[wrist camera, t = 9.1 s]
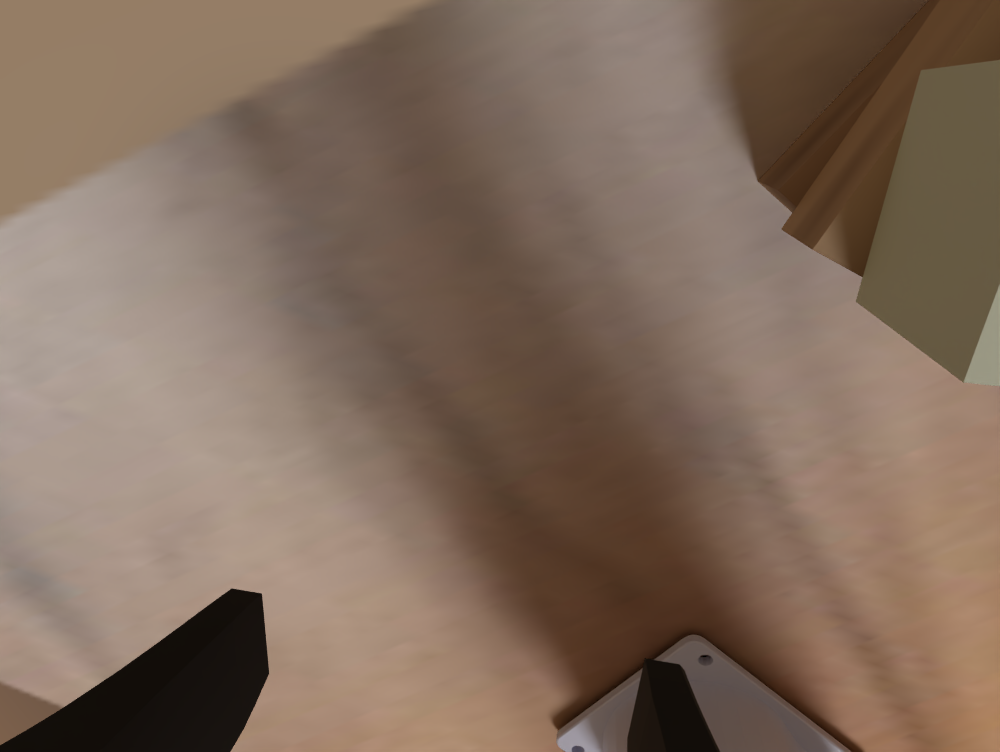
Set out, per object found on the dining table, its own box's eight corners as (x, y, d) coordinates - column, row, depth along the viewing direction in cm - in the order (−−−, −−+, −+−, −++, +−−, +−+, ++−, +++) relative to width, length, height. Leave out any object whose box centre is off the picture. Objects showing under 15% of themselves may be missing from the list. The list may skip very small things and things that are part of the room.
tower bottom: (1071, 147, 17) (1150, 152, 14) (891, 303, 19) (933, 331, 16) (924, 0, 16) (982, -20, 13) (754, 180, 18) (778, 189, 16)
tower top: (1155, 123, 14) (1269, 125, 12) (969, 333, 16) (1032, 370, 14) (941, -2, 14) (1011, -26, 11) (781, 229, 16) (813, 249, 13)
